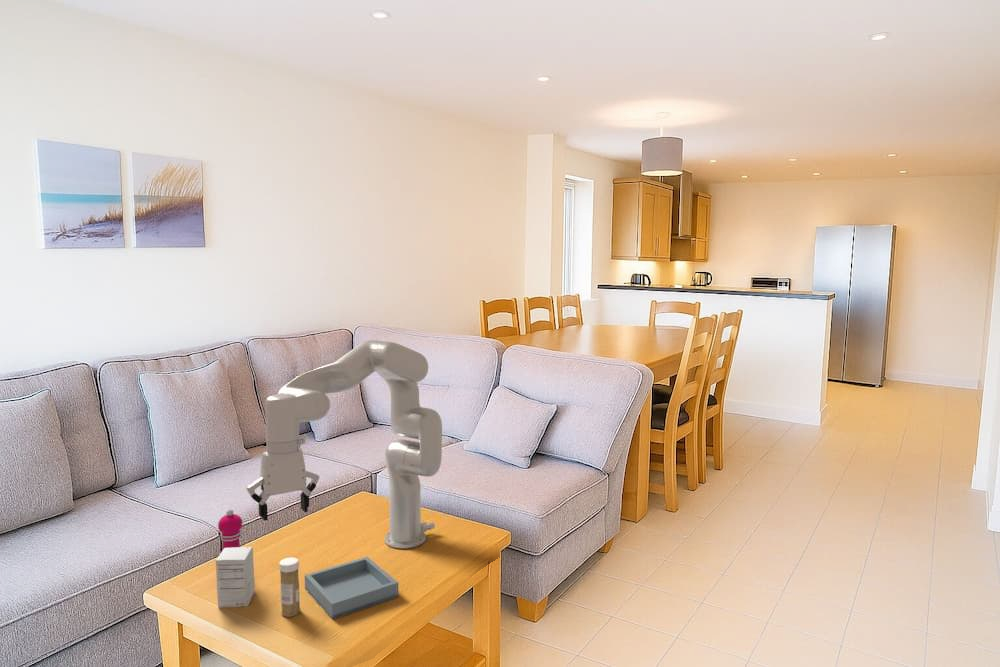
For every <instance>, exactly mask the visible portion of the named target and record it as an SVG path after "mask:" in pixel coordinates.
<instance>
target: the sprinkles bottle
mask: <svg viewBox="0 0 1000 667" xmlns="http://www.w3.org/2000/svg"><path fill="white" fill-rule="evenodd" d="M278 567H279V568H278V569H279V572H280V581H279V582H280V602H281V615H282V616H283V617H286V618H288V617H289V618H291V617H296V616H297V615H298V614H299V613H300V612H301V606H300V604H301V603H300V580H299V569H300V562H299V559H298V558H296V557H286V558H283V559H282V560H280V561H279V566H278Z"/></svg>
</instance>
